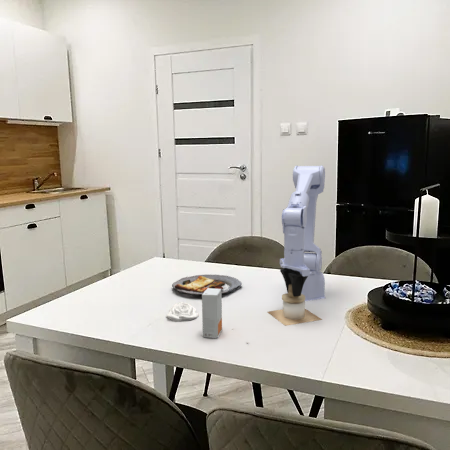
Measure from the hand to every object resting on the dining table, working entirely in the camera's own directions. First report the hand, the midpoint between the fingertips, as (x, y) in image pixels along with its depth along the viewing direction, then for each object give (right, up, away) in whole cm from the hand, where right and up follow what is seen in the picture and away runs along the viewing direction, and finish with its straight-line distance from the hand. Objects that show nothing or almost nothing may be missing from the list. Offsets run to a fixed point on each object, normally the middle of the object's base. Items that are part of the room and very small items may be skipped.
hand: (293, 294), depth 133 cm
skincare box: (-24, -10, -9) cm, 27 cm away
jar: (0, -7, +1) cm, 7 cm away
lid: (0, -1, 0) cm, 2 cm away
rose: (-33, -8, +4) cm, 34 cm away
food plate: (-27, -3, +32) cm, 42 cm away
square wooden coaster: (0, -7, +1) cm, 7 cm away
